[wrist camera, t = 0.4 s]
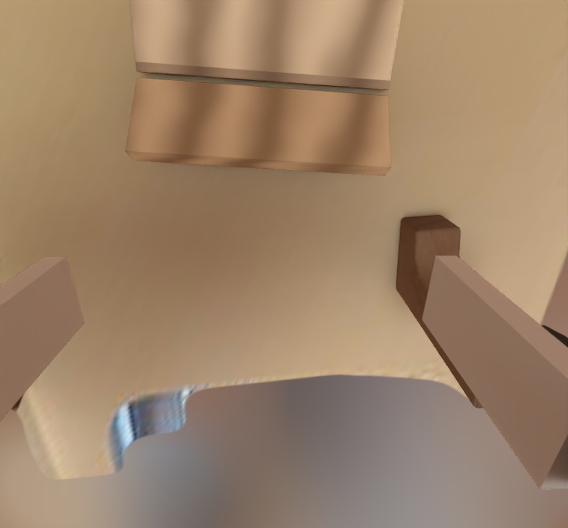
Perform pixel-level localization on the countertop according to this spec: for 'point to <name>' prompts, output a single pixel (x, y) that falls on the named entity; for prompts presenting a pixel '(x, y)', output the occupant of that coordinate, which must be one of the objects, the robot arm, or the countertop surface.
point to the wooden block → (426, 271)
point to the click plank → (259, 127)
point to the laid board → (269, 40)
